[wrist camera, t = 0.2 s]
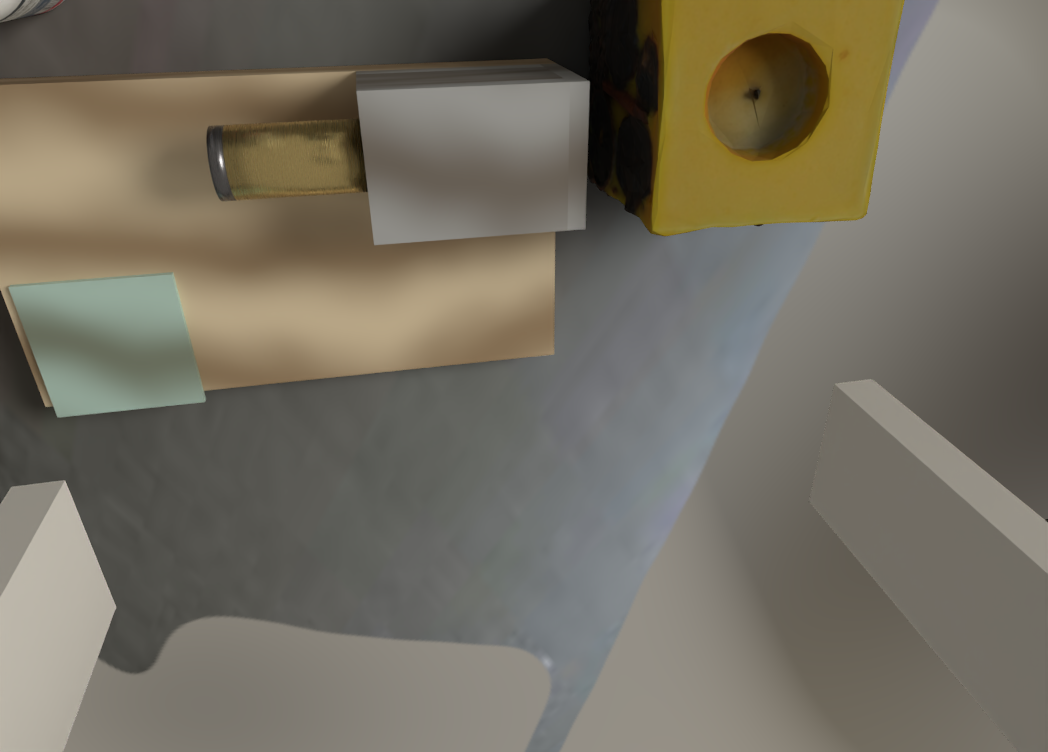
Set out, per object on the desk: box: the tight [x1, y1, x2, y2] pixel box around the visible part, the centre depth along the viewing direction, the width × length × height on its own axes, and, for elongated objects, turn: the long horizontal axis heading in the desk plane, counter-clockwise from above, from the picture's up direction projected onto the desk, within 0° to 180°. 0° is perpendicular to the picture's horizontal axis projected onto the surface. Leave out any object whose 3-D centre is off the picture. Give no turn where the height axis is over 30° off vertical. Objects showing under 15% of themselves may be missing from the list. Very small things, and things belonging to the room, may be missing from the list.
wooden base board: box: [0, 58, 590, 417], centre depth 34 cm, size 16×26×8 cm, turn 91°
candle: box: [587, 0, 904, 236], centre depth 33 cm, size 10×10×10 cm
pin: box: [206, 119, 368, 201], centre depth 31 cm, size 3×8×3 cm, turn 91°
